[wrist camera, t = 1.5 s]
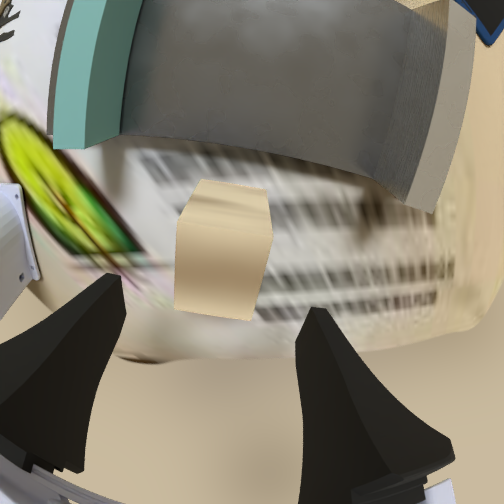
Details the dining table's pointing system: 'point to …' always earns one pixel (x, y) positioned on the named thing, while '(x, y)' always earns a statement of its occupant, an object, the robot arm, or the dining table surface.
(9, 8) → the tactical tomahawk
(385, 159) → the vise
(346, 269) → the dining table surface
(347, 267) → the dining table surface
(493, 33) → the cell phone
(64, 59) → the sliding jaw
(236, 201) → the birch block
